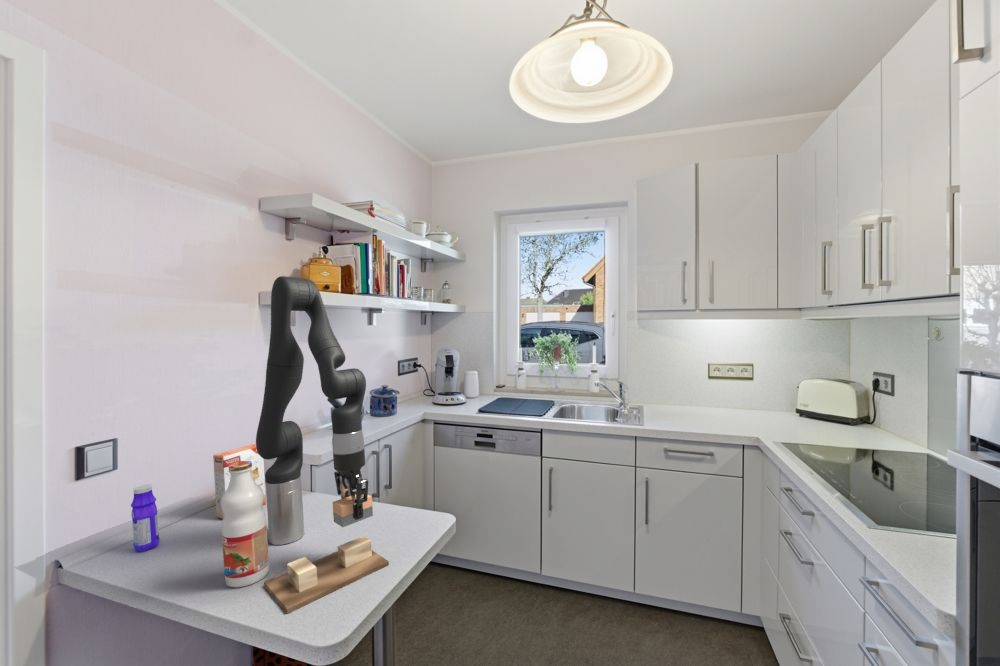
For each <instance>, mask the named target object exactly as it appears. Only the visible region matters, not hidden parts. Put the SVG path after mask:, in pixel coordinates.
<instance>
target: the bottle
mask: <svg viewBox="0 0 1000 666" xmlns="http://www.w3.org/2000/svg"><path fill="white" fill-rule="evenodd" d="M156 501H157V498H156V497H155V495H154V493H153V485H152V484H142V485H139V486H136V487H134V488H133V499H132V501H131V503H130V507H131V508H132V509H131V514H130V515H131V516H130V517H131V519H132V535H133V544H132V545H133V549H134V550H135V551H137V552H139V553H141V552H145V551H148V550H152V549H155V548H156V547H158V545H159V544H160V533H159V521H158V507H157V505H156Z"/></svg>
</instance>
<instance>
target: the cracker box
mask: <svg viewBox="0 0 1000 666" xmlns="http://www.w3.org/2000/svg"><path fill="white" fill-rule="evenodd" d="M212 458H213V459H212V460H213V476H214V492H215V493H214V495H215V496H214V497H215V513H216V518H218V519H222V520H223V518H224V514H223V512H222V510H221V499H222V496H223V495H224V493H225V492H226V490H227V488H228V486H229V482H230V478H231V474H230V473H229V465H230V464H232V463H235V462H240V461H251V462H252V469H251V474H252V477H253V479H254V481H255V483H256V484H257V485H258V486H259V487H260V488H261V489H262V490H263V493H264V501H263V505H267V498H266V484H265V463H264V462H265V459H263V458H262V457H261V456H260V455H259V454H258V451H257V448H256V443H252V444H249V445H245V446H242V447H237V448H235V449H231V450H227V451H223V452H220V453H215V454H213V456H212ZM263 505H262V506H263Z"/></svg>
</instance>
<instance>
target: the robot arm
mask: <svg viewBox="0 0 1000 666" xmlns="http://www.w3.org/2000/svg"><path fill="white" fill-rule="evenodd" d="M270 293H271V294H270V295H271V296H270V335H269V344H268V355H267V360H266V362H267V363H266V367H265V368H266V369H265V370H266V371H265V383H264V393H263V400H262V401H263V402H262V407H261V411H260V416H259V421H258V425H257V429H256V435H255V444H256V448H257V451H258V454H259V455H260V456H261V457H262V458H263V459H264V460H267V461H268V460H274V459H275V460H274V462H273V464H272V465H271V466H270V467H269V468H267V470H266V471H265V472H264V476H265V496H266V512H267V513H266V514H267V524H268V525H267V526H268V529H267V531H268V543H269V544H271V545H275V546H281V545H288V544H291V543H293V542H295V541H298V540H299V539H302V538H303V536H304V535H305V521H304V519H305V517H304V505H303V504H304V503H303V486H302V473H301V471H302V468H303V464H304V451H303V449H304V444H303V442H304V441H303V433H302V429H301V428H300V426H299V424H298V423H297V422H295V421H293V420H285V421H284V416H285V413H286V410H287V408H288V406H289V403H290V402H291V400H292V399H293V397H294V396H295V393H297V391H298V389H299V386H300V385H301V382H302V379H303V371H304V363H305V358H304V355H303V354H304V353H303V351H302V349H301V347H300V346H299V343H298V342H297V340H296V338H295V336H294V334H293V332H292V328H291V311H293V312H295V311H296V312H305V313H306V315H307V316H308V317H309V319H310V327H309V331H308V335H307V344H308V348H309V350H310V352H311V354H312V356H313V358H314V361H315V362H316V364H317V369H318V374H319V378H320V388H321V391H322V393H323V395H324V396H325V397H327V398H328V399H330V400H333V401H334V400H340V399H345V401H344V403H343V404H342V405H341V406H339V407H337V408H335V409H333V410H332V412H331V429H332V437H331V438H332V440H331V441H332V442H331V444H332V456H333V457H332V459H333V469H334V470H335V471H334V472H333V473H334V474H333V475H334V480H335V485H336V492H337V495H338V496H340V499H343V498H346V497H349V496H351V497H352V502H353V512H354V519H356V520H358V519H360V518H362V517H363V502H366V501H367V499H368V495H369V480H368V478H363V475H362V472H361V471H362V470H361V469H362V468H363V467H365V465H366V453H365V440H364V434H363V433H364V432H363V426H362V425H363V424H362V409H363V404H364V400H365V394H366V388H367V381H366V380H367V379H366V377H365V374H364V373H363V371H362V370H360V369H359V368H355V367H354V368H346V369H339V370H337V369H338V368H340V367H342V366H343V365H344V364H345V361H346V355H345V354H346V353H345V352H344V351H343V348H342V347H341V344H340V343H339V341H338V339H337V337H336V336H335V333H334V331H333V329H332V326H331V323H330V321H329V318H328V315H327V311H326V307H325V304H324V301H323V297H322V295H321V293H320V290H319V288H318V286H317V284H316V283H315V282H314V281H313V280H312V279H309V278H303V277H302V278H301V277H293V276H285V275H283V276H282V275H281V276H279V277H276V279H275V280H274V282H273V283H272V289H271V292H270ZM363 494H364V495H363ZM355 495H356V497H355Z"/></svg>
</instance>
